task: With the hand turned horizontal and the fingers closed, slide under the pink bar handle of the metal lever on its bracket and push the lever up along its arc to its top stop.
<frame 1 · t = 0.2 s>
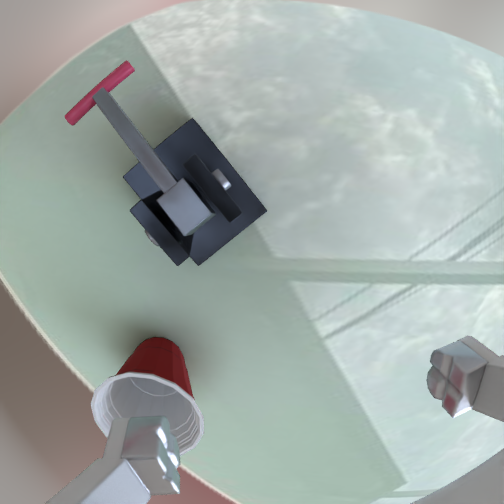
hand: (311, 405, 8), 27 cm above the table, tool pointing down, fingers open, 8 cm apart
lever: (141, 148, 20), point 12 cm above the table, hinge at -12.0°
bracket: (194, 192, 32), on the table
plastic cup: (158, 354, 37), on the table
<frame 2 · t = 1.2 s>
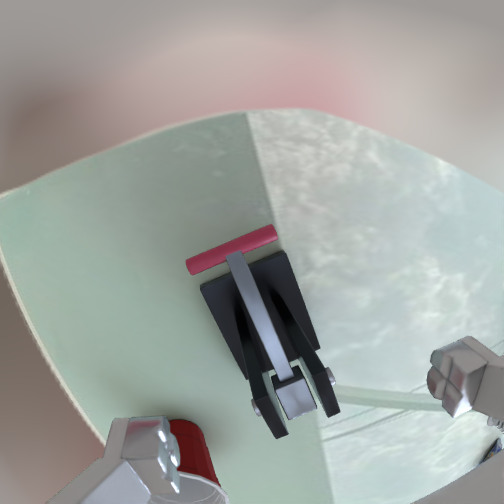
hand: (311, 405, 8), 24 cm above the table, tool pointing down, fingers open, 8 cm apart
lever: (267, 332, 21), point 12 cm above the table, hinge at -12.0°
bracket: (262, 317, 34), on the table
plastic cup: (180, 431, 37), on the table
snack package: (489, 452, 55), on the table
french press: (501, 406, 49), on the table
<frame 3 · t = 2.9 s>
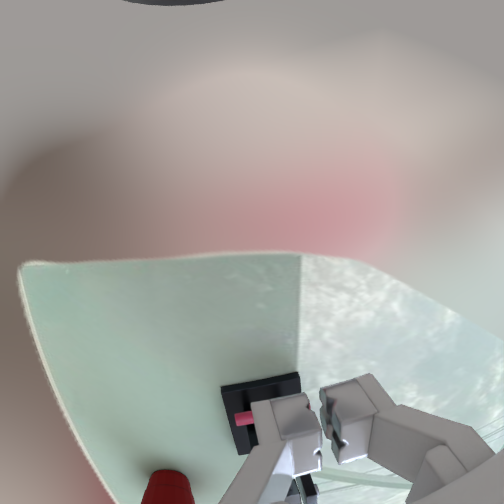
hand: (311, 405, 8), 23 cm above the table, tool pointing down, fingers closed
lever: (281, 463, 24), point 12 cm above the table, hinge at -12.0°
bracket: (265, 415, 37), on the table
plastic cup: (169, 477, 39), on the table
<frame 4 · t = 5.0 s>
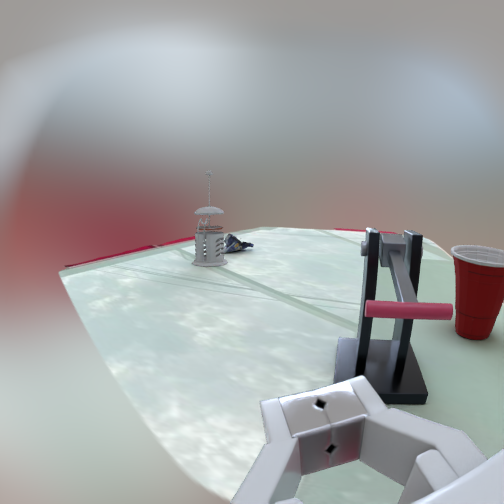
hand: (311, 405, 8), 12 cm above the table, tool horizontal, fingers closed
lever: (398, 272, 24), point 12 cm above the table, hinge at -12.0°
bracket: (376, 372, 31), on the table
plastic cup: (472, 334, 37), on the table
snack package: (235, 251, 109), on the table
french press: (208, 264, 88), on the table
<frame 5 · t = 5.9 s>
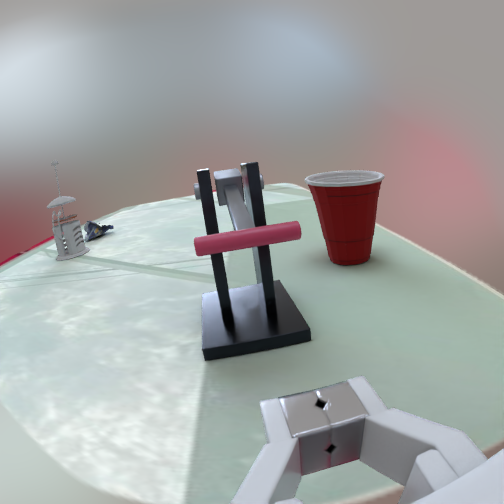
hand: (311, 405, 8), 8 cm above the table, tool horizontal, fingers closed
lever: (235, 204, 24), point 12 cm above the table, hinge at -12.0°
bracket: (249, 319, 32), on the table
plastic cup: (350, 260, 44), on the table
snack package: (97, 237, 95), on the table
french press: (72, 255, 74), on the table
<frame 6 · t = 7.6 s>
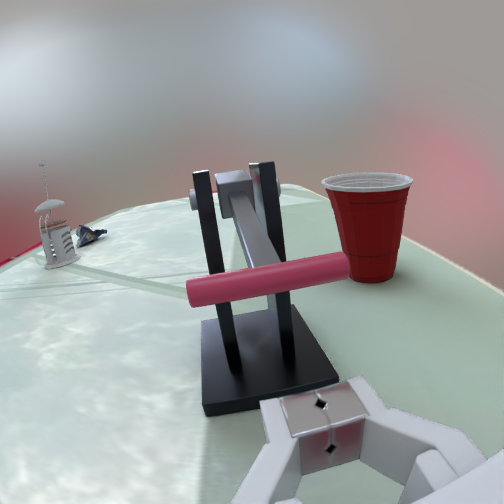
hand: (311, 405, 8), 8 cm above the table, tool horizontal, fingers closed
lever: (245, 220, 17), point 12 cm above the table, hinge at -12.0°
bracket: (259, 357, 25), on the table
plastic cup: (371, 276, 38), on the table
snack package: (90, 242, 89), on the table
french press: (61, 263, 68), on the table
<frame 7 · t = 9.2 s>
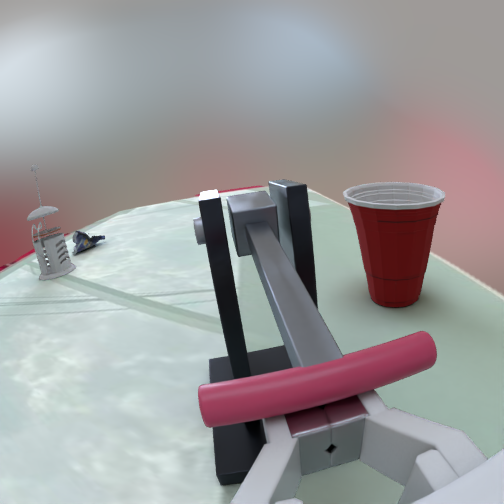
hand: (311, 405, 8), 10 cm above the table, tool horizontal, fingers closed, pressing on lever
lever: (273, 267, 13), point 12 cm above the table, hinge at -10.2°, touching gripper
bracket: (278, 406, 21), on the table
plastic cup: (395, 298, 33), on the table
snack package: (87, 249, 84), on the table
french press: (56, 274, 63), on the table
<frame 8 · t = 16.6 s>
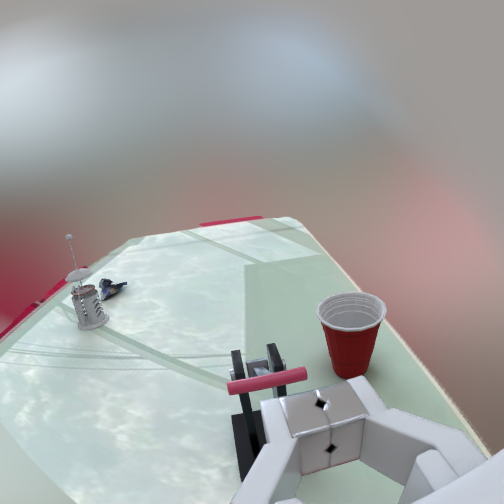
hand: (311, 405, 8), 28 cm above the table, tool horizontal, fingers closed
lever: (261, 374, 29), point 16 cm above the table, hinge at 31.9°
bracket: (270, 443, 37), on the table
plastic cup: (350, 370, 50), on the table
snack package: (112, 293, 101), on the table
french press: (92, 323, 80), on the table
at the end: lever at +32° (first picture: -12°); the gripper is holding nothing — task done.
